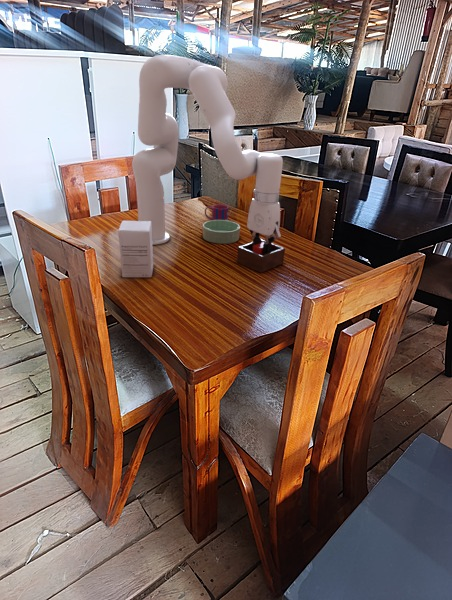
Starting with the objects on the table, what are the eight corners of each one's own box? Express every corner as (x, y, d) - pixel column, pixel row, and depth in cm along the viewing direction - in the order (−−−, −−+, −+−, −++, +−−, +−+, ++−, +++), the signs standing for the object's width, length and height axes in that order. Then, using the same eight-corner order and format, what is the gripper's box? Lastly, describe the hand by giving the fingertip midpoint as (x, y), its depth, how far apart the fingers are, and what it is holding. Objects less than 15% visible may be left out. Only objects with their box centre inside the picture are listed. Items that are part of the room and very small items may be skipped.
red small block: (260, 257, 130) (260, 248, 128) (252, 254, 132) (253, 245, 130) (269, 253, 133) (270, 245, 131) (262, 250, 135) (262, 242, 134)
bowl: (220, 246, 145) (221, 234, 143) (194, 235, 154) (195, 224, 152) (246, 238, 154) (247, 226, 152) (221, 228, 163) (221, 217, 161)
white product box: (125, 265, 127) (121, 219, 120) (153, 265, 128) (151, 220, 121) (121, 277, 119) (117, 230, 112) (151, 278, 120) (149, 230, 113)
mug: (225, 226, 165) (226, 209, 162) (202, 222, 168) (202, 206, 164) (229, 221, 171) (230, 205, 168) (207, 218, 173) (207, 202, 170)
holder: (260, 273, 127) (262, 256, 124) (236, 262, 133) (237, 246, 131) (283, 263, 134) (285, 248, 132) (259, 254, 141) (260, 239, 138)
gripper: (238, 192, 126) (235, 247, 135) (280, 204, 116) (273, 262, 125) (254, 189, 130) (250, 242, 139) (295, 200, 120) (288, 256, 129)
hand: (261, 251), depth 132 cm, fingers open, 3 cm apart
